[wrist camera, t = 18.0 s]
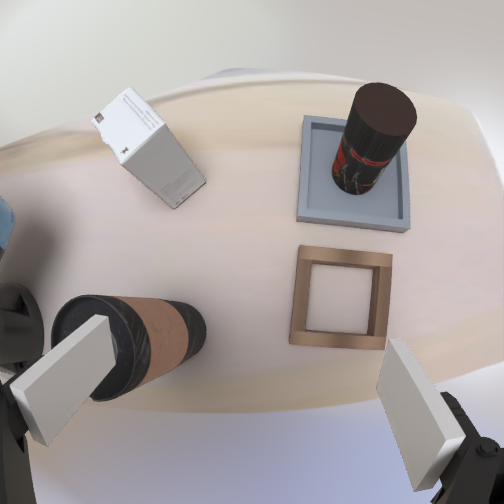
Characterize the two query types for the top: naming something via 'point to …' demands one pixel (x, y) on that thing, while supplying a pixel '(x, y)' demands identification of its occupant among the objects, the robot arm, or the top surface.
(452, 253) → the top surface
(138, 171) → the skincare box
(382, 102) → the deodorant
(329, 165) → the slate tray
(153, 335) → the travel mug
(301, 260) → the frame
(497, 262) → the top surface
